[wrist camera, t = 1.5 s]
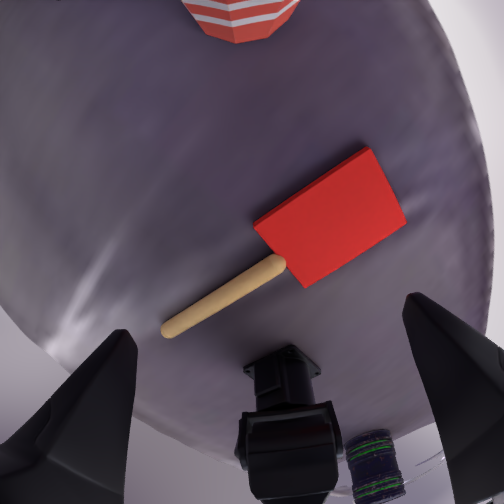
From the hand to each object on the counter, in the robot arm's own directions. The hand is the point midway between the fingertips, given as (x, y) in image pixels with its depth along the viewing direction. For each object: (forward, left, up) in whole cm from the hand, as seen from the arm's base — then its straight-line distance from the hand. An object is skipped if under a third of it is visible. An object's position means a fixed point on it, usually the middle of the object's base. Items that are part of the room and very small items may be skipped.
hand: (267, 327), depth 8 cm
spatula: (-6, +3, -13) cm, 15 cm away
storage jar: (-53, +12, -13) cm, 56 cm away
